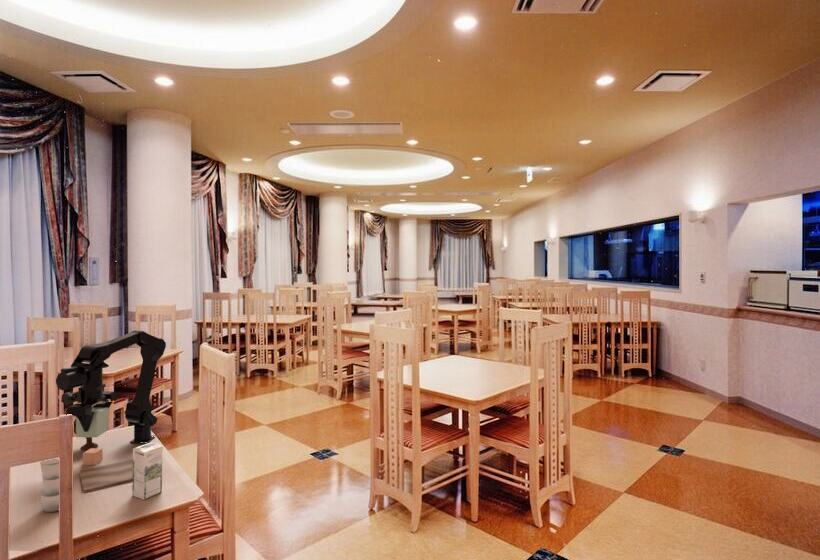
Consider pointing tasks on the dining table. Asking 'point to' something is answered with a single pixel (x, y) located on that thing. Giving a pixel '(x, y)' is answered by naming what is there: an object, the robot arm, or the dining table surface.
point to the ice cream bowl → (89, 442)
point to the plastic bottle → (50, 485)
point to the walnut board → (107, 475)
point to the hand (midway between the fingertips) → (92, 427)
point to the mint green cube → (94, 424)
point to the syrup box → (147, 470)
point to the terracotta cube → (92, 456)
